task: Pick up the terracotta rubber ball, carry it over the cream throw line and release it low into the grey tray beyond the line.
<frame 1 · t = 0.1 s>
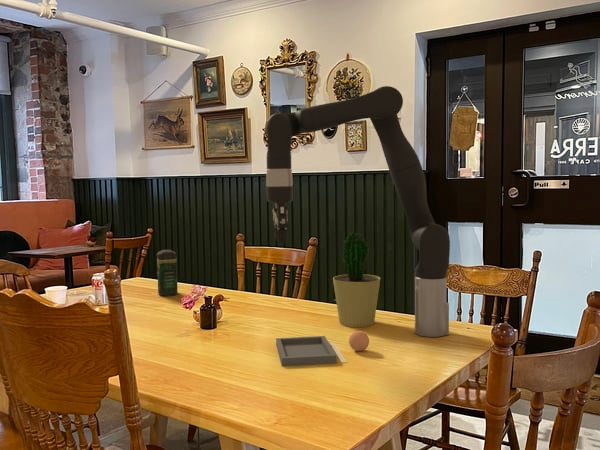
hand: (280, 241, 159), 29 cm above the table, fingers open, 8 cm apart
ball: (359, 340, 151), point 3 cm above the table
coffee jar: (168, 294, 232), on the table
potted cactus: (356, 323, 181), on the table
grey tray: (304, 353, 150), on the table
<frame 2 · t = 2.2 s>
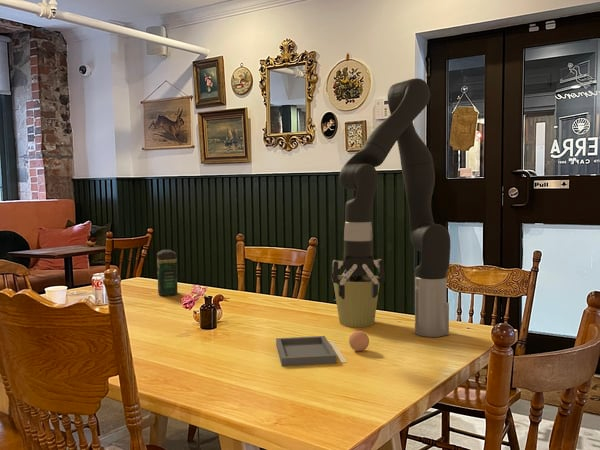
hand: (358, 297, 150), 15 cm above the table, fingers open, 8 cm apart
nothing on the table moved.
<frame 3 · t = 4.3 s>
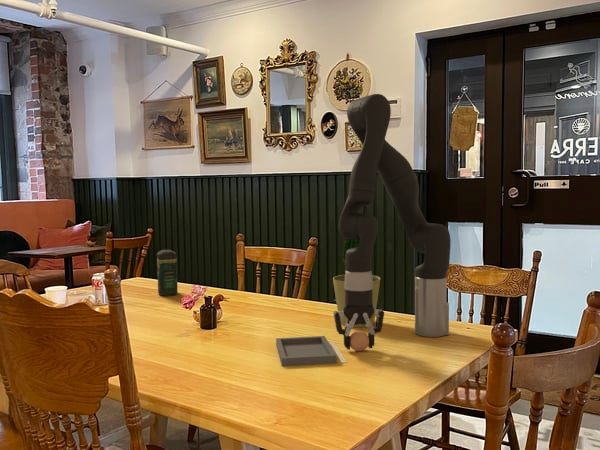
hand: (359, 347, 152), 1 cm above the table, fingers closed on ball, 5 cm apart
ball: (359, 340, 151), point 3 cm above the table, touching gripper
everything else where it was.
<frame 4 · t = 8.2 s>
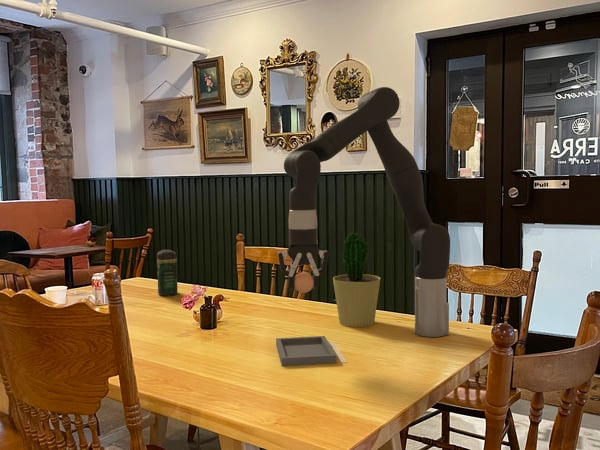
hand: (303, 289, 148), 18 cm above the table, fingers closed on ball, 5 cm apart
ball: (303, 282, 148), point 19 cm above the table, touching gripper
everything else where it was.
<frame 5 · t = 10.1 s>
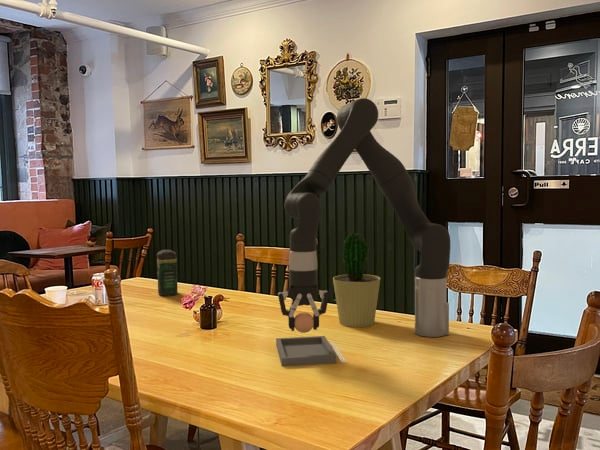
hand: (303, 329, 149), 7 cm above the table, fingers closed on ball, 5 cm apart
ball: (303, 322, 149), point 9 cm above the table, touching gripper
everything else where it was.
when the fingers open (3 cm above the table, at t = 11.8 s): ball drops 2 cm, resting on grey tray.
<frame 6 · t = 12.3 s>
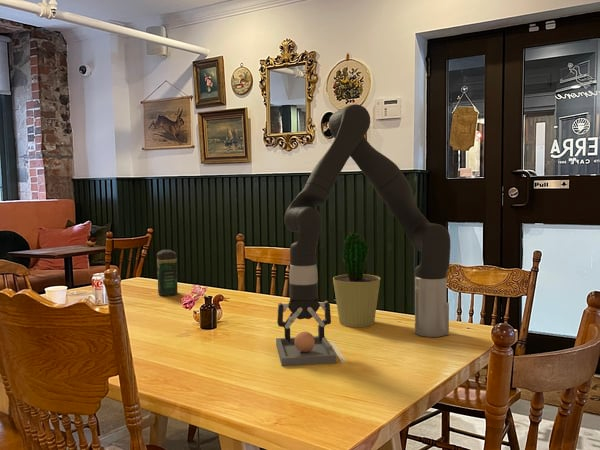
hand: (304, 340, 149), 4 cm above the table, fingers open, 8 cm apart
ball: (304, 341, 150), point 3 cm above the table, touching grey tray
everything else where it was.
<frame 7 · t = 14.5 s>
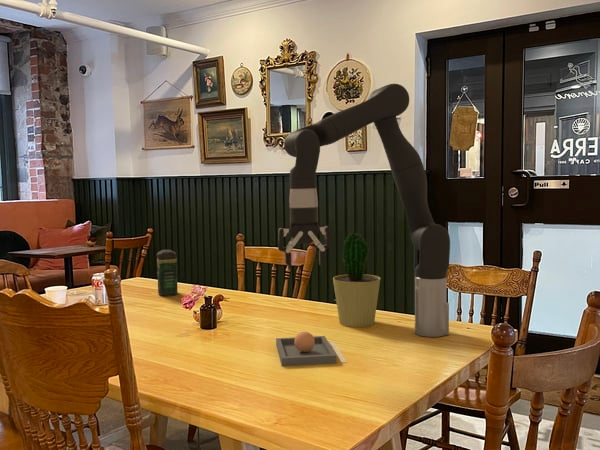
hand: (305, 265, 150), 24 cm above the table, fingers open, 8 cm apart
nothing on the table moved.
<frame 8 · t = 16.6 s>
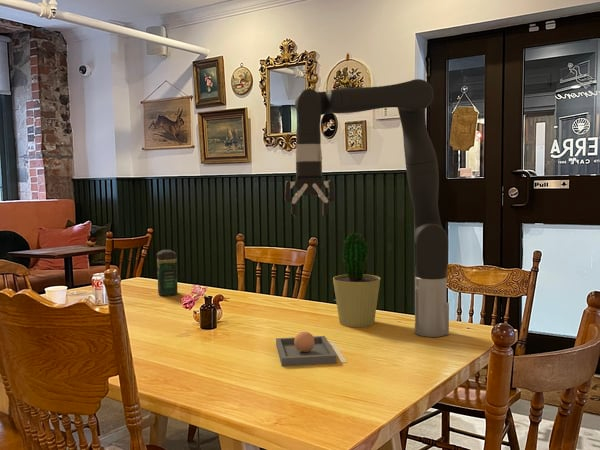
hand: (309, 216, 162), 36 cm above the table, fingers open, 8 cm apart
nothing on the table moved.
at the end: ball inside the target area (0.0 cm from its centre), point 3.2 cm above the table; ball touching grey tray; the gripper is holding nothing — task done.
